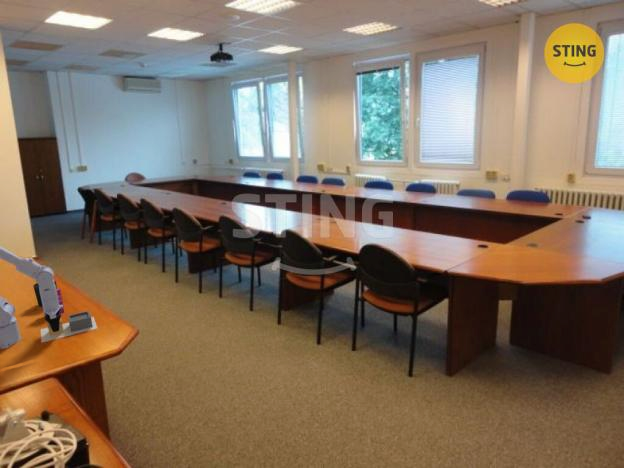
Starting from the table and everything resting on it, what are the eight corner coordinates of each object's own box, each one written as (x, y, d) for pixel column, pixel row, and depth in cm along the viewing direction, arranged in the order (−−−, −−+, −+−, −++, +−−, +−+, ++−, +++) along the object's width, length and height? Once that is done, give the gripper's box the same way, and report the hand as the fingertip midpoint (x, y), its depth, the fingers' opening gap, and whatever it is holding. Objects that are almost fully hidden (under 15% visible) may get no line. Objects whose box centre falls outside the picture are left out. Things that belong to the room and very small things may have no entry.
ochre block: (49, 335, 176) (47, 324, 175) (49, 331, 180) (46, 320, 179) (63, 332, 178) (61, 321, 177) (63, 327, 183) (60, 316, 181)
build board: (41, 344, 171) (41, 342, 171) (41, 331, 182) (40, 329, 182) (97, 330, 181) (97, 328, 181) (93, 318, 193) (93, 316, 192)
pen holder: (55, 297, 219) (51, 278, 217) (63, 301, 213) (59, 282, 211) (34, 304, 212) (30, 284, 210) (42, 308, 206) (37, 288, 204)
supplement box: (55, 317, 196) (50, 293, 193) (44, 316, 197) (39, 293, 194) (65, 311, 201) (60, 288, 198) (54, 311, 202) (49, 288, 200)
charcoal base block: (71, 332, 179) (69, 322, 177) (69, 324, 185) (67, 315, 184) (92, 326, 183) (90, 317, 182) (90, 319, 189) (88, 310, 188)
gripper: (61, 300, 172) (68, 332, 175) (59, 289, 184) (65, 319, 187) (41, 305, 168) (47, 337, 171) (40, 294, 180) (46, 324, 183)
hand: (55, 328), depth 179 cm, fingers closed on ochre block, 5 cm apart
